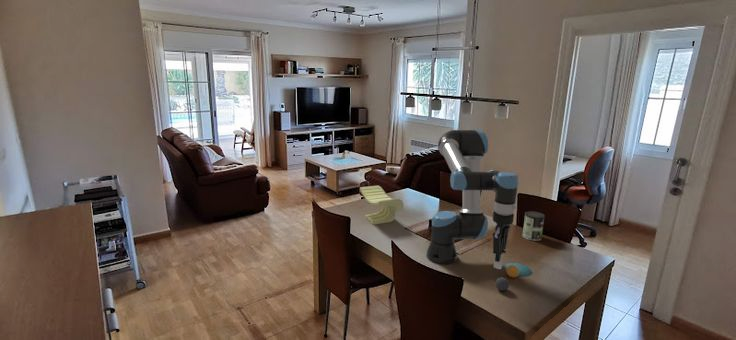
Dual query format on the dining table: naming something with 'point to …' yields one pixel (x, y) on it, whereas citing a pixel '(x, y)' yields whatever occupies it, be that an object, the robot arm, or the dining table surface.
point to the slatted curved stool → (381, 204)
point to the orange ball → (512, 271)
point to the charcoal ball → (502, 283)
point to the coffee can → (533, 225)
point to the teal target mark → (520, 269)
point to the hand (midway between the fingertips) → (497, 267)
